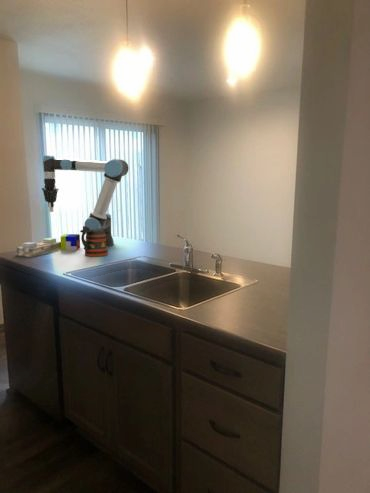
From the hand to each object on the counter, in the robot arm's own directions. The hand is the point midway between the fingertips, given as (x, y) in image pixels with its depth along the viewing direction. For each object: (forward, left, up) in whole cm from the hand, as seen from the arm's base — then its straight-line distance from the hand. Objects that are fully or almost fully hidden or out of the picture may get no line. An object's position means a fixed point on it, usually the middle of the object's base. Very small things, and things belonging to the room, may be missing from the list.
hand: (51, 211), depth 272 cm
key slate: (-9, +31, -21) cm, 38 cm away
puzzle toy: (-21, +6, -25) cm, 33 cm away
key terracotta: (-9, +22, -23) cm, 33 cm away
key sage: (-9, +13, -21) cm, 26 cm away
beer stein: (-46, +14, -25) cm, 54 cm away
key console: (-9, +22, -24) cm, 34 cm away
